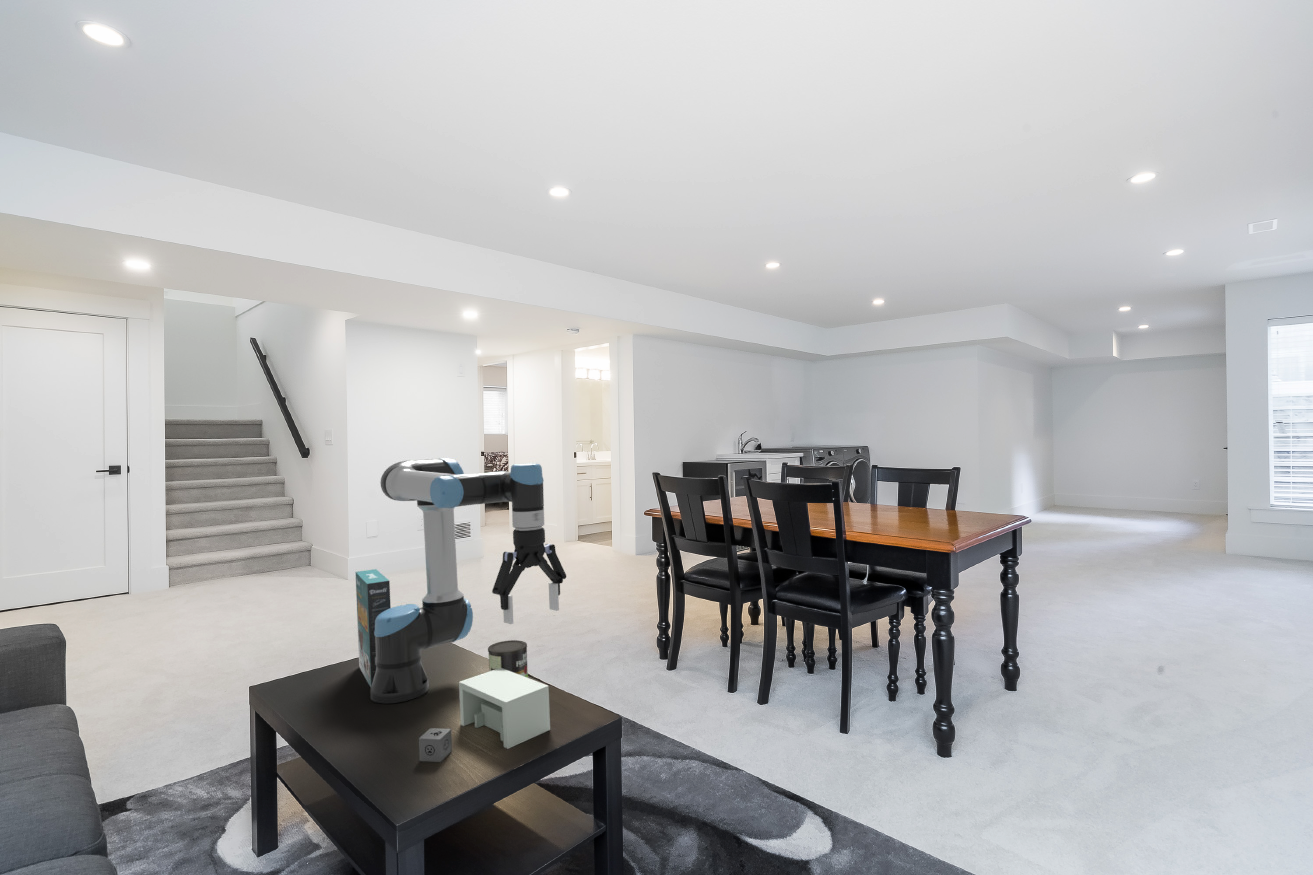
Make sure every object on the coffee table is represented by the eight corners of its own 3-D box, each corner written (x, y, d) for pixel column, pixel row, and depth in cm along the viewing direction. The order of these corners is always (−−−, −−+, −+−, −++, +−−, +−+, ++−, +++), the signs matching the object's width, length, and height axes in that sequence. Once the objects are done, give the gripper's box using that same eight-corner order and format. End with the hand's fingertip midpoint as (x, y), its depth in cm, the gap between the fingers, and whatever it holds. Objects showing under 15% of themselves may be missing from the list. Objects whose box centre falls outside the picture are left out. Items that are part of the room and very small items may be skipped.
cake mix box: (393, 683, 188) (389, 580, 188) (371, 688, 185) (367, 583, 185) (379, 662, 207) (376, 569, 206) (359, 666, 203) (355, 571, 203)
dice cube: (440, 762, 141) (440, 739, 141) (419, 760, 142) (418, 738, 142) (451, 750, 146) (451, 728, 146) (431, 749, 147) (430, 727, 146)
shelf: (460, 724, 159) (458, 681, 159) (502, 707, 168) (500, 667, 168) (507, 748, 145) (505, 702, 145) (550, 729, 154) (548, 685, 154)
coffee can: (534, 691, 178) (532, 640, 178) (519, 706, 168) (517, 652, 168) (500, 689, 180) (498, 639, 180) (483, 705, 170) (480, 651, 170)
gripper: (493, 536, 144) (497, 631, 144) (578, 522, 162) (581, 606, 162) (474, 533, 149) (478, 626, 149) (558, 520, 167) (562, 602, 167)
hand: (532, 616), depth 155 cm, fingers open, 13 cm apart
